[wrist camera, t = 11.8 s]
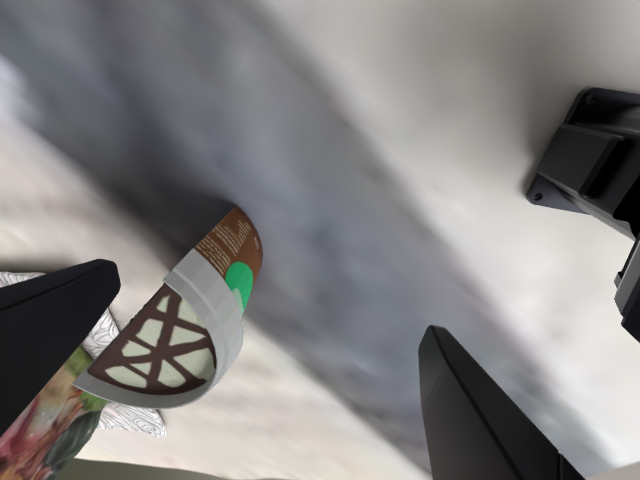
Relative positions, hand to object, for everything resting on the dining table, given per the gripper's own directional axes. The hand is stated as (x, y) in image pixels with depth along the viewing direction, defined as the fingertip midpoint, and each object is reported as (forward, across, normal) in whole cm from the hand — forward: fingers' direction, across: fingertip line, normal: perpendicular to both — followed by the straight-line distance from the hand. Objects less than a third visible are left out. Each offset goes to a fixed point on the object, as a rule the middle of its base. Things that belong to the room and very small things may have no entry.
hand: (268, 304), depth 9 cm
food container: (+13, +6, +9) cm, 17 cm away
